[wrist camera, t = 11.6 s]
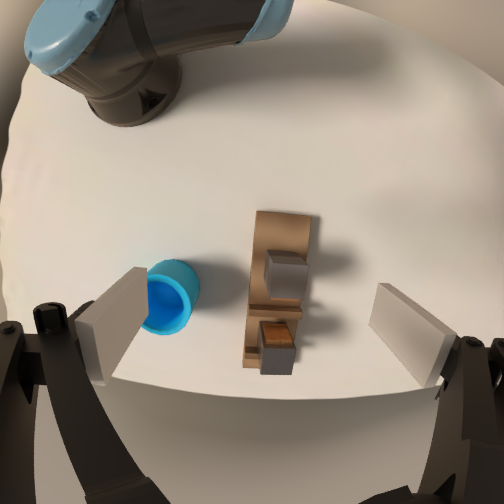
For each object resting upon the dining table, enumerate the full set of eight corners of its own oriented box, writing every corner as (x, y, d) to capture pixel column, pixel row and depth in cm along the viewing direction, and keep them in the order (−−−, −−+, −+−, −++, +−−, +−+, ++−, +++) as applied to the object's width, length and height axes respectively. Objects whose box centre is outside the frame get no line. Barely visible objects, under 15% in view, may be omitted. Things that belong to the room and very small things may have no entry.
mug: (200, 261, 41) (191, 276, 33) (199, 313, 42) (191, 338, 34) (123, 255, 40) (100, 268, 32) (126, 305, 42) (105, 327, 34)
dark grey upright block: (259, 317, 41) (264, 343, 33) (286, 318, 41) (296, 344, 33) (256, 344, 42) (260, 374, 34) (282, 345, 42) (291, 374, 34)
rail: (256, 210, 40) (262, 215, 30) (307, 215, 40) (329, 222, 30) (242, 361, 44) (243, 399, 34) (287, 362, 45) (297, 400, 35)
